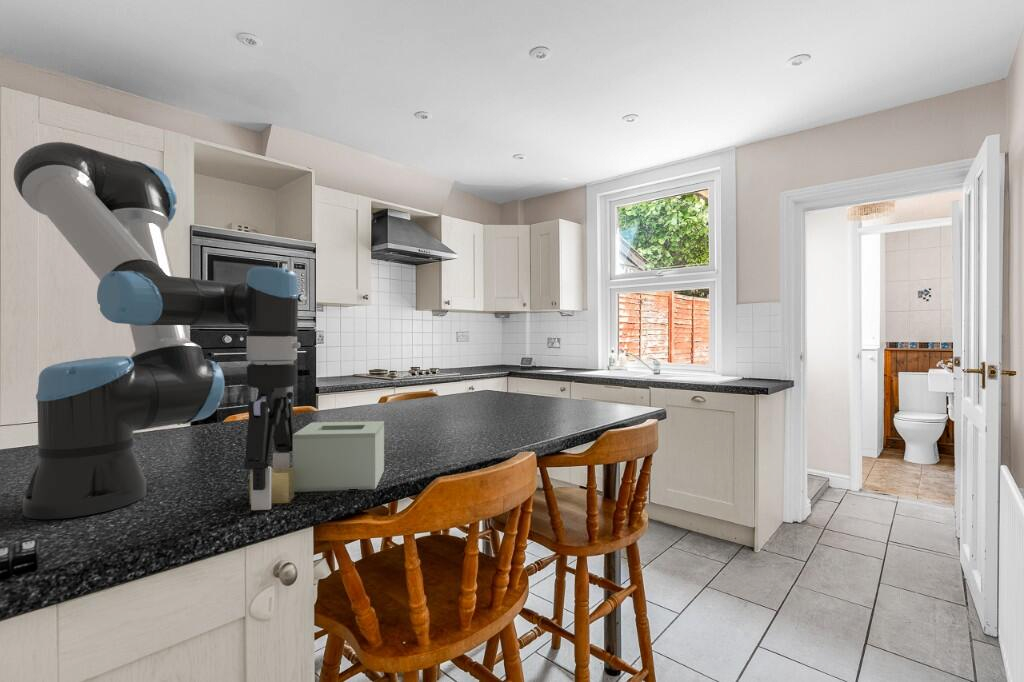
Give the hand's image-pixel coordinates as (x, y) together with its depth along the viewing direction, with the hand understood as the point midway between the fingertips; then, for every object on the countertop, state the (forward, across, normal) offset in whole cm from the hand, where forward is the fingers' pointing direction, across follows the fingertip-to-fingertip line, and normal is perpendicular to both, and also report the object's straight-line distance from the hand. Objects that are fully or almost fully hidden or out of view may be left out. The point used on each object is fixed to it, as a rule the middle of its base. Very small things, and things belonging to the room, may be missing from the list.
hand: (272, 498), depth 82 cm
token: (0, 0, 0) cm, 0 cm away
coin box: (0, +10, -9) cm, 14 cm away
